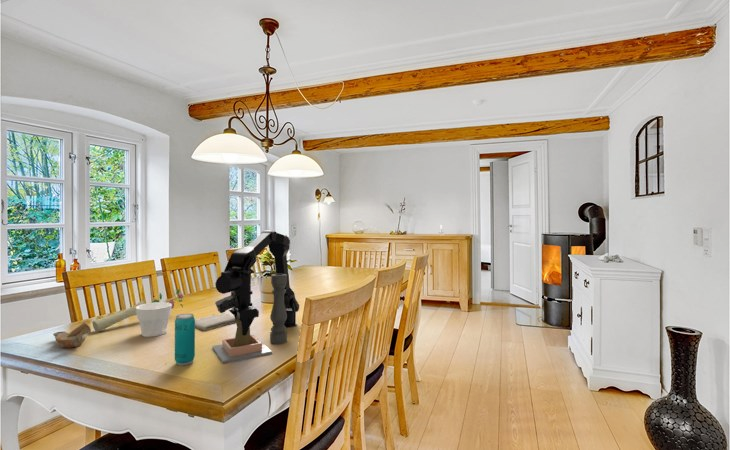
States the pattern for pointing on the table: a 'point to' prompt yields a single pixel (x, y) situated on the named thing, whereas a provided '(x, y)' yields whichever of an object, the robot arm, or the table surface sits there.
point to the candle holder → (278, 309)
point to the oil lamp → (73, 336)
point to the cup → (153, 318)
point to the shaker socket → (240, 350)
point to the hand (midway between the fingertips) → (241, 332)
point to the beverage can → (184, 339)
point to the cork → (241, 336)
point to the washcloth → (214, 321)
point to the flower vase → (126, 314)
